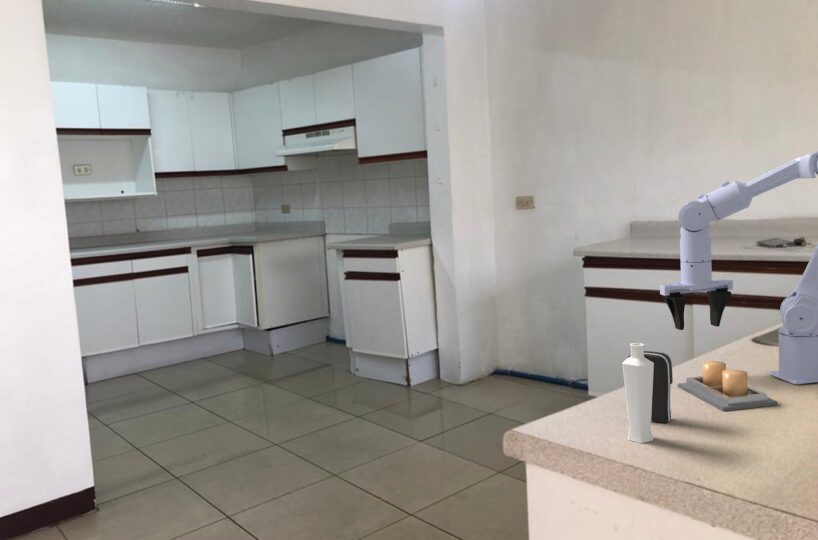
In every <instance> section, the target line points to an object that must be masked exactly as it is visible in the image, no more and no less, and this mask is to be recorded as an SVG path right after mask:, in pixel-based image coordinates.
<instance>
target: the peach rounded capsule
mask: <svg viewBox="0 0 818 540" xmlns="http://www.w3.org/2000/svg"><path fill="white" fill-rule="evenodd" d="M724 370H727V363H726V362H724V361H720V360H705V361H703V362H702V376H703V384H705V385H707V386H709V387H710V386H720V385H723V380H722V372H723V371H724Z"/></svg>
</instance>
